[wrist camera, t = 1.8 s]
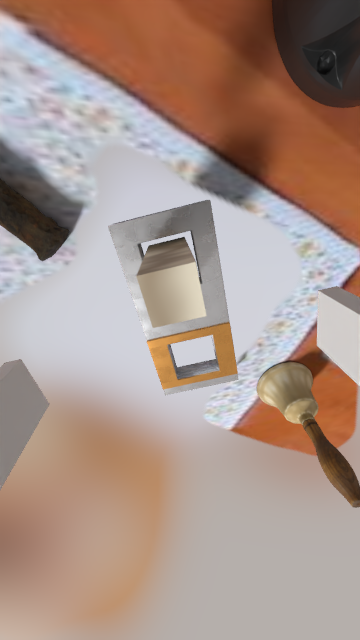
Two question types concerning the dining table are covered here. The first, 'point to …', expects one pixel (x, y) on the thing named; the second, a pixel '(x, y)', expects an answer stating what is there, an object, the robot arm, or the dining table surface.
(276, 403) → the hand bell
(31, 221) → the hand tool
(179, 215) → the grey board
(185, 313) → the peg
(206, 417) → the dining table surface
